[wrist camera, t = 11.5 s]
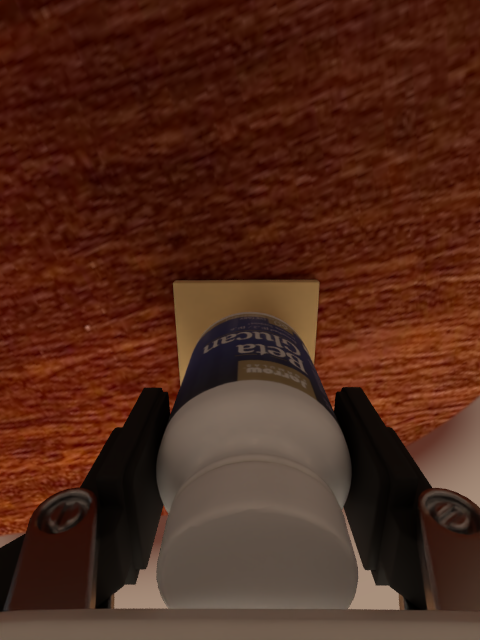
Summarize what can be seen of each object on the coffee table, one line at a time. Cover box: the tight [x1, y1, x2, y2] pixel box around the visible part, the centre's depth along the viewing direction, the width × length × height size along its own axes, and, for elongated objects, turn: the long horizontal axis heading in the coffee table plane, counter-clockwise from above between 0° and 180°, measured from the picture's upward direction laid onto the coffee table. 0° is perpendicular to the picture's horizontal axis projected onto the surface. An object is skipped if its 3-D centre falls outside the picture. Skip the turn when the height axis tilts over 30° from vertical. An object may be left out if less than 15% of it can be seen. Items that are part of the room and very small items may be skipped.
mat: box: [173, 280, 320, 387], centre depth 18 cm, size 7×7×1 cm
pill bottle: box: [156, 312, 358, 609], centre depth 11 cm, size 5×5×10 cm
